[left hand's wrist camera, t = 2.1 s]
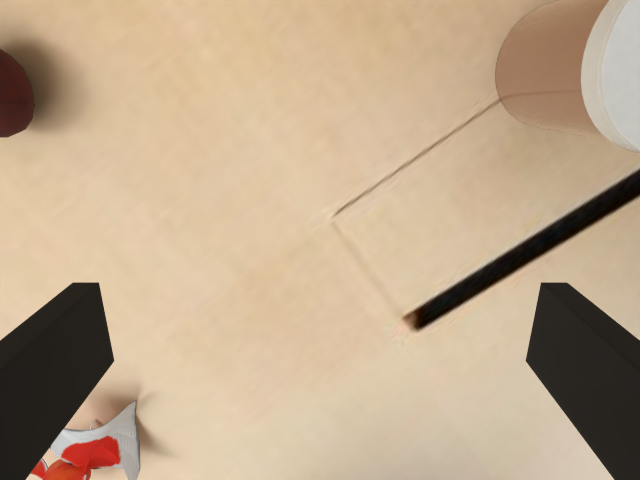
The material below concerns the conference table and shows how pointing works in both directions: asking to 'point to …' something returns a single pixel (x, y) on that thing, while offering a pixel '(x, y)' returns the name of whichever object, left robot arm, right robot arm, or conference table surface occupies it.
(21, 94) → the dark maroon ball
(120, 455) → the red and white piece
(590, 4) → the jar
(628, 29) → the lid
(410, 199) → the conference table surface
